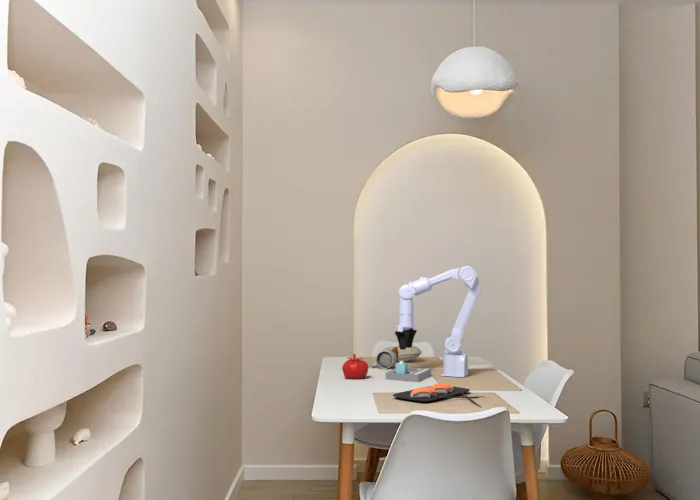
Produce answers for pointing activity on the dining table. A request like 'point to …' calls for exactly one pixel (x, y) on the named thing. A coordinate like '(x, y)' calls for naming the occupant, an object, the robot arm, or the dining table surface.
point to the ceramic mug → (385, 359)
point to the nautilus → (406, 353)
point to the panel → (409, 375)
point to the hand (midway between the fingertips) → (405, 348)
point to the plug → (402, 367)
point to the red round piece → (355, 368)
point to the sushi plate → (434, 393)
